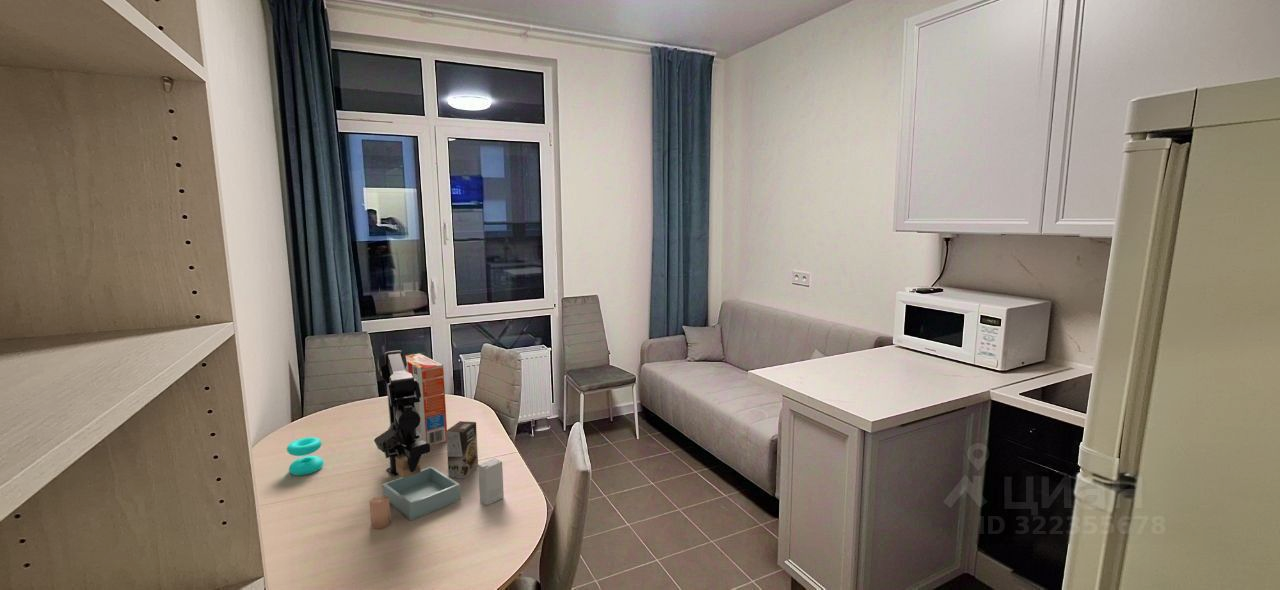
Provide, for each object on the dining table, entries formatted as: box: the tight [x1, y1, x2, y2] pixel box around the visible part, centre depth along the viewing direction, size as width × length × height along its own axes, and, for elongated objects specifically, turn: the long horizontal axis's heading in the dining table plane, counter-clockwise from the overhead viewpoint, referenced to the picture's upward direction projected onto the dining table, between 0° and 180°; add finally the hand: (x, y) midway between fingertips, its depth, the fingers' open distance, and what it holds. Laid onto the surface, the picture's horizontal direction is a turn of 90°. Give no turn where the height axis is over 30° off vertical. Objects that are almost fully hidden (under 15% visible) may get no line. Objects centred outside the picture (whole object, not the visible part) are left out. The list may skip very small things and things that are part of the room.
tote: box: [382, 466, 462, 522], centre depth 165 cm, size 18×16×5 cm
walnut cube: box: [395, 454, 421, 478], centre depth 162 cm, size 5×5×5 cm
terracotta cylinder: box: [368, 495, 392, 530], centre depth 152 cm, size 5×5×7 cm
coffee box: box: [446, 421, 479, 479], centre depth 182 cm, size 9×6×16 cm
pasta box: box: [405, 352, 448, 446], centre depth 211 cm, size 23×8×30 cm, turn 43°
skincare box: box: [477, 457, 505, 506], centre depth 164 cm, size 6×4×12 cm
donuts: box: [286, 436, 324, 476], centre depth 184 cm, size 10×10×10 cm
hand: (408, 468), depth 162 cm, fingers closed on walnut cube, 5 cm apart
